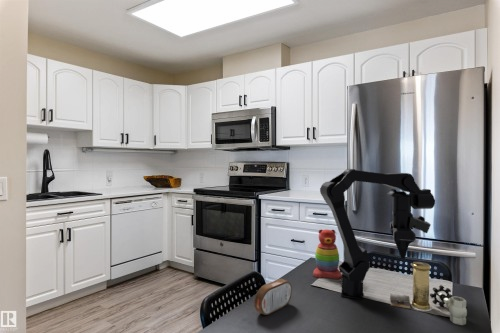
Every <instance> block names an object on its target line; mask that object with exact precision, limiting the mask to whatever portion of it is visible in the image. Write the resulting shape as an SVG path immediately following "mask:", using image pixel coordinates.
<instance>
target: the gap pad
mask: <svg viewBox="0 0 500 333" xmlns="http://www.w3.org/2000/svg"><path fill="white" fill-rule="evenodd" d="M409 305H410V308H412V309H413V310H416V311H420V312H431V311H432V310H433V307H432V306H431V305H430V309H428V310H422V309H418V308H415V307H413V306H412V301H411V302H409Z"/></svg>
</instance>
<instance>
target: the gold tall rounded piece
mask: <svg viewBox="0 0 500 333" xmlns="http://www.w3.org/2000/svg"><path fill="white" fill-rule="evenodd" d="M411 265H412V266H411V267H412V300H411V302H412V306H413V307H415V308H418V309H422V310H428V309H430V306H431V304H430V270H431V265H430V264H429V263H427V262H421V261H413V262H412V264H411Z"/></svg>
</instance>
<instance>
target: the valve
mask: <svg viewBox="0 0 500 333" xmlns="http://www.w3.org/2000/svg"><path fill="white" fill-rule="evenodd" d="M432 291H433V292H434V293H429V298H431V299H433V300H432V303H433V304H434V305H439V306H440V308H444V307H445V306H446V309H448V311H449V313H450V314H449V321H450V322H452V323H453V324H455V325H459V326H464V325H466V324H467V318H466V317H467V315H468V310H467V308H466V307H467V300H466V299H465V298H463V297H461V296H456V295H455V296H454V295H452V294H450V293H451V292H452V290H451V288H448V287H446V288H445V286H444V285H442V284H440V285H439V286H438V288H437V287H433V288H432ZM440 292H441V293H440ZM442 292H444V293H445V294H444V293H442ZM437 296H438V297H437ZM438 298H439V299H440V300H438Z"/></svg>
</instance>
